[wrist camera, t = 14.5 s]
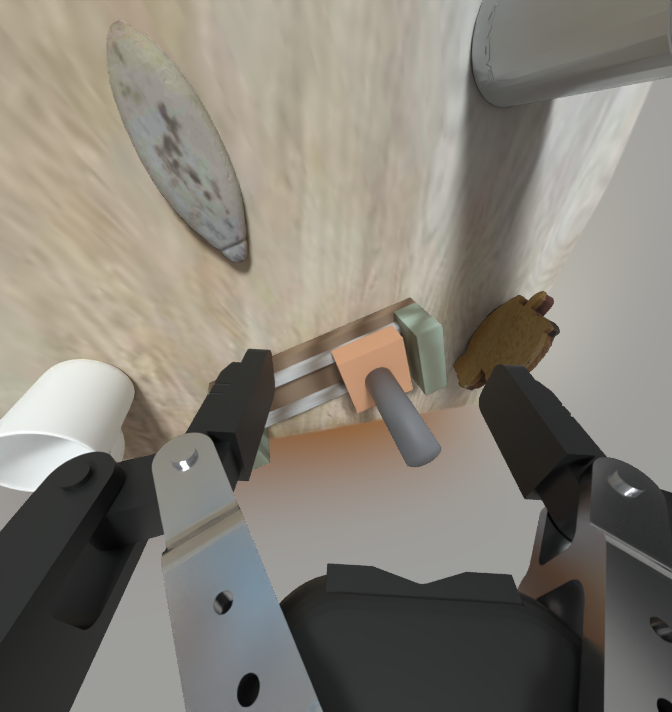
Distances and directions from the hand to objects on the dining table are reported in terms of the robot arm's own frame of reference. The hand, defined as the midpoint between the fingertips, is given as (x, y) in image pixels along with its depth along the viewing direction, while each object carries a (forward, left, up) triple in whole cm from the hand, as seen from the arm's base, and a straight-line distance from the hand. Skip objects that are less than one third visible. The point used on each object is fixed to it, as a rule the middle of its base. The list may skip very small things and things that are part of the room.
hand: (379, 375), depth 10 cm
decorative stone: (+6, -8, -23) cm, 25 cm away
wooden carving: (-21, +23, -23) cm, 39 cm away
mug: (+28, +8, -23) cm, 37 cm away
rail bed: (+3, +17, -22) cm, 29 cm away
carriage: (-3, +17, -19) cm, 26 cm away
